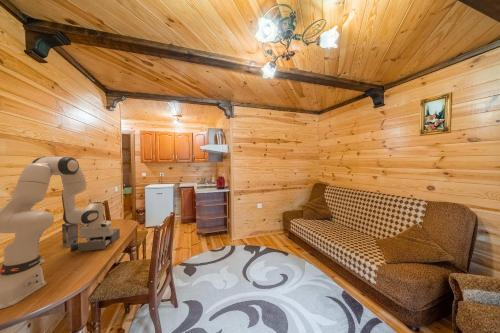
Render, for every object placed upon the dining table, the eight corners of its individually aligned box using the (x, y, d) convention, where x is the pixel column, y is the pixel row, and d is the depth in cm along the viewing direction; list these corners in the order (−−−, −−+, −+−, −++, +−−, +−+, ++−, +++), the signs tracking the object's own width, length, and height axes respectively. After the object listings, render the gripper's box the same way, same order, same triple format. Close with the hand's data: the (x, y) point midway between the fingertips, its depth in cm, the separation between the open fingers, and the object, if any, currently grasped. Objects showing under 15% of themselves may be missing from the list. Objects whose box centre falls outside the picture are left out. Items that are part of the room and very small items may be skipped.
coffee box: (62, 245, 141) (61, 224, 141) (73, 242, 147) (72, 221, 146) (67, 248, 137) (66, 226, 137) (78, 244, 143) (78, 223, 142)
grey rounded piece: (75, 251, 132) (75, 245, 132) (69, 251, 131) (69, 246, 131) (79, 248, 136) (79, 243, 136) (72, 249, 135) (72, 243, 135)
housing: (111, 243, 144) (111, 234, 144) (87, 246, 140) (87, 236, 140) (119, 236, 158) (119, 228, 158) (97, 238, 154) (97, 230, 154)
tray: (105, 248, 134) (105, 241, 134) (78, 251, 130) (78, 243, 130) (113, 240, 147) (113, 234, 147) (89, 242, 143) (89, 235, 143)
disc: (99, 244, 135) (99, 241, 135) (88, 245, 134) (88, 242, 134) (104, 240, 142) (104, 238, 142) (93, 241, 140) (93, 238, 140)
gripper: (76, 226, 132) (76, 246, 132) (110, 224, 137) (110, 243, 137) (82, 223, 138) (82, 242, 138) (114, 221, 143) (114, 239, 143)
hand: (96, 242), depth 138 cm, fingers closed on disc, 6 cm apart
